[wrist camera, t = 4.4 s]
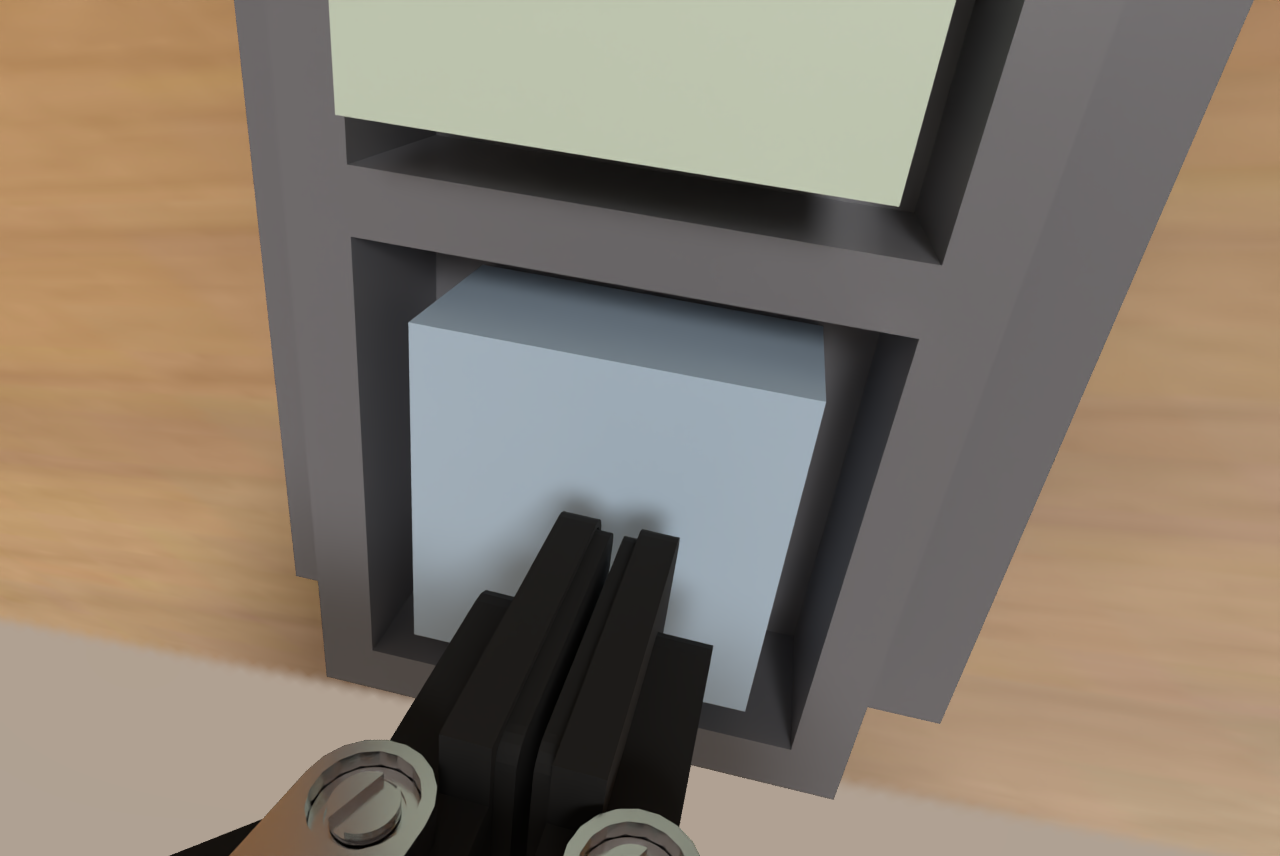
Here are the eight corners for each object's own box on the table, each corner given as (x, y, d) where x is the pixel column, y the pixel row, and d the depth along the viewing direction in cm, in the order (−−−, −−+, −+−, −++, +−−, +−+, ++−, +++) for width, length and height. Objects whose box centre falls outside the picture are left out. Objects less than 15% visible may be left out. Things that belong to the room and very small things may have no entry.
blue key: (823, 326, 13) (826, 402, 11) (755, 599, 16) (744, 711, 14) (482, 264, 14) (408, 322, 12) (474, 538, 17) (413, 634, 14)
